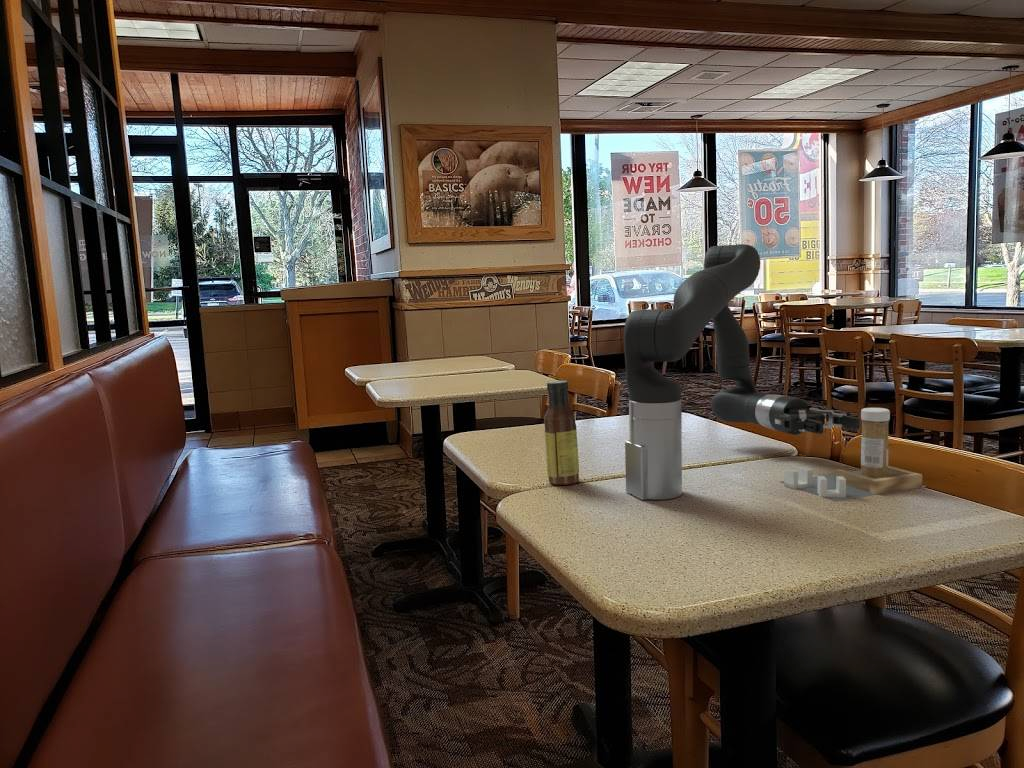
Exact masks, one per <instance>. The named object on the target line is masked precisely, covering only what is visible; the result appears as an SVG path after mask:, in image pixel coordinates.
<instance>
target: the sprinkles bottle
mask: <svg viewBox="0 0 1024 768" xmlns="http://www.w3.org/2000/svg"><path fill="white" fill-rule="evenodd" d="M860 414H861V415H860V419H861V439H860V441H861V442H860V444H861V445H860V470H861V475H863V476H867V477H870V478H874V479H879V478H886V477H887V476H888V474H887V473H888V466H889V424H890V420H891V412H890V410H889V409H888V408H885V407H884V408H883V407H865V408H862V409H861V411H860Z"/></svg>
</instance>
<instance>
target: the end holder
mask: <svg viewBox="0 0 1024 768" xmlns="http://www.w3.org/2000/svg"><path fill="white" fill-rule="evenodd" d="M834 474H835V482H836V476H843V477H844V478H845V479H846V485H848V486H851V487H854V488H857V489H861V490H864V491H867V492H870V493H873V494H878V495H880V494H879V493H885V492H891V493H893V492H892V491H898V490H904V491H906V490H905V489H911V488H917V487H922V485H923V474H922V473H918V472H914V471H911V470H908V469H907V470H906V469H903V468H900V467H895V466H891V465H888V473H887V474H888V476H887V477H886V478H879V479H874V478H870V477H867V476H863V475H860V474H856V473H853V472H850V471H849V470H846V469H841V468H840V469H839V468H838V469H837V468H836V469H835V471H834ZM917 489H918V488H917ZM911 490H912V489H911ZM898 492H899V491H898ZM885 494H886V493H885Z"/></svg>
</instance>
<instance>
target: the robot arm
mask: <svg viewBox="0 0 1024 768" xmlns="http://www.w3.org/2000/svg"><path fill="white" fill-rule="evenodd" d="M703 260H704V261H703V269H701V270H698V271H696V272H695V273H693V274H691V275H690V276H688V278H686V279H685V280H684V281H682V282H681V284H679V286H678V287H677V289H676V290H675V293H674V294H673V308H669V309H668V308H664V309H663V308H662V309H661V308H658V309H657V308H656V309H655V308H654V309H653V308H652V309H636V310H633V311H631V312H630V313H629V314H628V316H627V317H626V319H625V323H624V326H623V327H624V328H623V346H624V347H623V351H624V360H625V361H624V362H625V363H624V364H625V380H626V381H625V382H626V386H627V390H628V414H629V415H628V425H629V426H628V427H629V430H628V431H629V433H628V434H629V440H625V441H624V442H625V443H624V452H625V453H624V454H625V460H624V461H625V462H624V463H625V492H626V493H628V494H629V495H631V494H632V495H631V496H634V497H636V498H638V499H640V500H670V499H676V498H678V497H680V496H681V495H682V494H683V467H682V466H683V461H682V460H683V459H682V458H683V456H682V455H683V450H682V449H683V448H682V447H683V445H682V443H683V442H682V440H683V437H682V432H683V431H682V430H683V428H682V424H683V423H682V422H683V421H682V419H683V418H682V417H683V416H682V412H683V411H682V408H683V407H682V387H681V384H680V383H679V382H677V381H676V380H673V379H670V378H669V377H666V376H664V375H663V374H662V373H660V372H659V371H658V370H657V369H656V368H655V366H654V362H655V363H656V362H659V363H660V362H661V363H662V362H664V363H670V362H676V361H679V360H681V359H683V358H684V357H685V356H686V355H687V354H688V352H690V349H691V348H692V347H693V345H694V344H695V342H696V340H697V338H698V337H699V336H700V334H701V333H702V331H703V330H704V329H705V328H706V327H707V326H708V324H709V323H710V322H711V321H712V324H713V328H714V330H713V331H714V335H715V336H714V337H715V344H716V364H717V366H716V367H717V368H716V369H717V374H718V377H720V379H721V380H725V381H733V382H734V385H735V386H734V387H731V388H727V389H723V390H719V391H718V392H716V393H714V395H713V396H712V398H711V401H710V407H711V410H712V413H713V414H714V416H715V417H716V418H717V419H719V420H721V421H723V422H726V423H735V424H736V423H738V424H739V423H740V424H741V423H743V424H744V423H745V424H754V425H757V426H762V427H765V428H767V429H770V430H773V431H776V432H780V433H785V434H789V435H792V436H795V435H796V436H797V435H801V434H803V433H805V432H807V433H808V432H810V433H814V434H818V435H819V434H820V435H822V434H823V433H824V429H829V430H830V429H832V428H833V427H837V428H838V427H841V428H845V429H850V430H859V429H860V427H861V425H860V424H861V420H860V419H861V418H859V417H855V416H852V412H850V411H841V410H836V409H831V408H828V409H819V408H815V407H811V406H810V404H809V403H808V401H806V400H805V399H802V398H798V397H795V396H794V397H793V396H788V395H783V394H782V395H781V394H772V393H771V394H769V393H764V392H758V391H757V389H756V385H755V381H754V379H753V375H752V373H751V369H750V368H751V367H750V346H749V340H748V337H747V334H746V332H745V331H744V328H743V327H742V325H741V324H740V322H739V321H738V320H737V318H736V317H735V315H734V314H733V312H732V310H731V308H730V307H729V303H730V302H731V301H732V300H733V299H734V298H735V297H736V296H738V295H739V294H740V293H742V292H744V291H745V290H746V289H748V288H750V287H751V286H752V285H753V284H754V283H755V281H756V280H757V278H758V276H759V273H760V271H761V258H760V254H759V251H758V250H757V248H755V247H754V246H753V245H749V244H746V243H745V244H744V243H741V244H739V243H738V244H728V245H727V244H726V245H723V244H722V245H713V246H710V247H709V248H708V249H707V251H706V253H705V255H704V259H703ZM825 423H828V424H825Z"/></svg>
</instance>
